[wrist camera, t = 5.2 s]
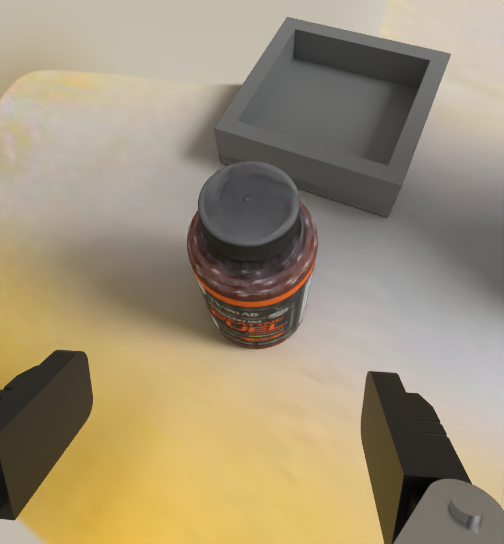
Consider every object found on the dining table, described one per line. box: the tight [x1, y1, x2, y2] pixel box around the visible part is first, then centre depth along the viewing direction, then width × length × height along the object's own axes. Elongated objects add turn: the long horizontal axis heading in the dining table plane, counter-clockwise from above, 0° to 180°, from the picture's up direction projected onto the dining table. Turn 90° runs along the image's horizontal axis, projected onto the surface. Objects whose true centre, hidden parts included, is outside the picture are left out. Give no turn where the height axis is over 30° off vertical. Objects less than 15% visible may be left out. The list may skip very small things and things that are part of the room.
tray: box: [214, 17, 451, 218], centre depth 30 cm, size 13×13×4 cm
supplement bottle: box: [187, 161, 318, 349], centre depth 20 cm, size 6×6×11 cm
